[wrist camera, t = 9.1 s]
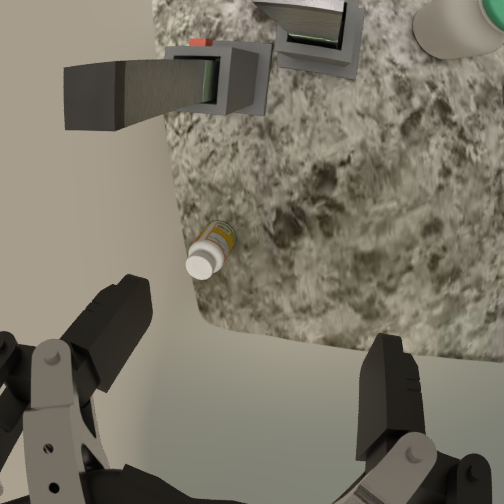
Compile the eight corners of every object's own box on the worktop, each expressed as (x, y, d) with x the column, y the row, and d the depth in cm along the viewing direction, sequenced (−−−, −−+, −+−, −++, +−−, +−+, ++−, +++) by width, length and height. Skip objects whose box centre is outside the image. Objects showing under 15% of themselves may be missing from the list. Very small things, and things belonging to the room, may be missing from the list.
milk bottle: (452, 70, 31) (534, 71, 14) (403, 39, 31) (460, 8, 14) (471, 28, 27) (554, 8, 10) (422, -4, 27) (483, -53, 10)
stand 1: (273, 44, 36) (249, 33, 25) (264, 115, 41) (239, 131, 30) (200, 40, 37) (153, 34, 26) (195, 107, 42) (149, 123, 32)
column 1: (232, 61, 32) (115, 60, 14) (229, 95, 34) (115, 131, 16) (199, 60, 32) (63, 67, 14) (196, 92, 34) (64, 130, 16)
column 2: (340, 16, 26) (350, -60, 8) (335, 49, 29) (343, 12, 10) (302, 10, 27) (260, -68, 9) (298, 43, 29) (250, 1, 11)
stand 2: (364, 11, 30) (377, -14, 19) (354, 79, 36) (364, 81, 25) (286, -2, 32) (267, -30, 21) (278, 66, 37) (256, 63, 26)
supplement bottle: (209, 250, 55) (187, 284, 47) (200, 221, 52) (175, 252, 44) (239, 248, 53) (221, 283, 45) (231, 218, 50) (211, 250, 42)
